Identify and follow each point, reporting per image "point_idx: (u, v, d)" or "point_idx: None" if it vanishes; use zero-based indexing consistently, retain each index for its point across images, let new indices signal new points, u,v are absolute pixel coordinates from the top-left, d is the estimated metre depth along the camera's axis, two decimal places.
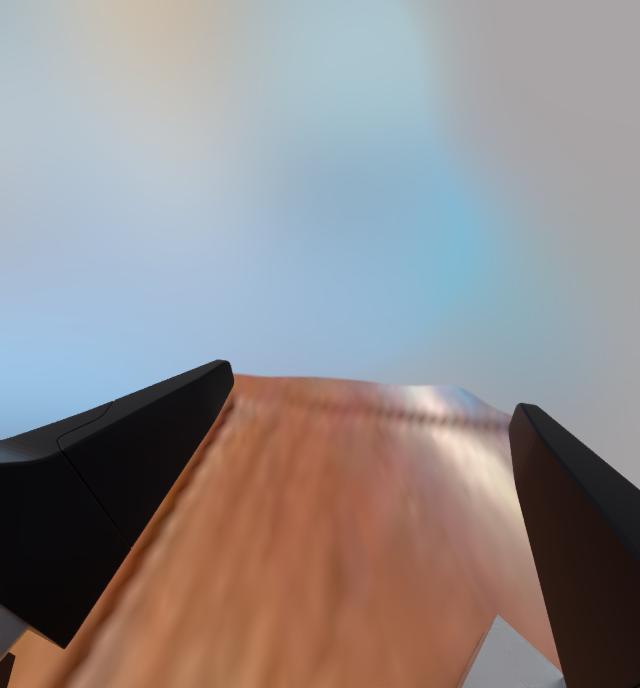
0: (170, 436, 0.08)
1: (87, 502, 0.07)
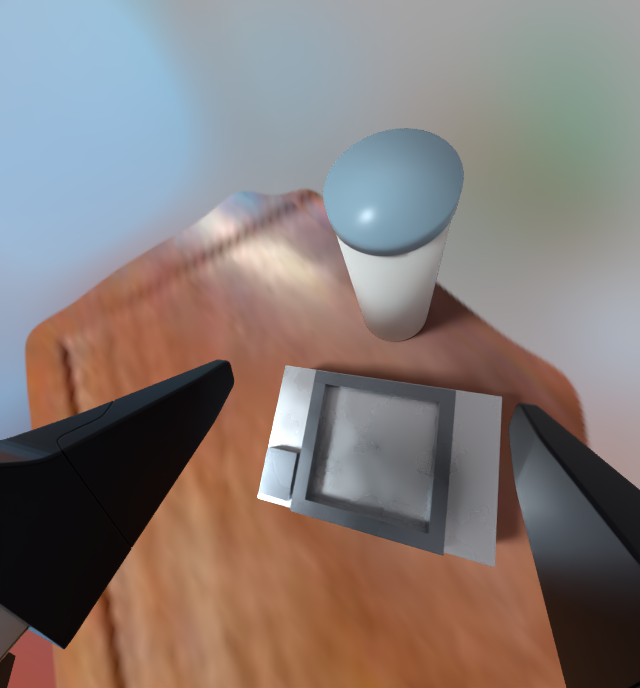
0: (170, 436, 0.08)
1: (87, 502, 0.07)
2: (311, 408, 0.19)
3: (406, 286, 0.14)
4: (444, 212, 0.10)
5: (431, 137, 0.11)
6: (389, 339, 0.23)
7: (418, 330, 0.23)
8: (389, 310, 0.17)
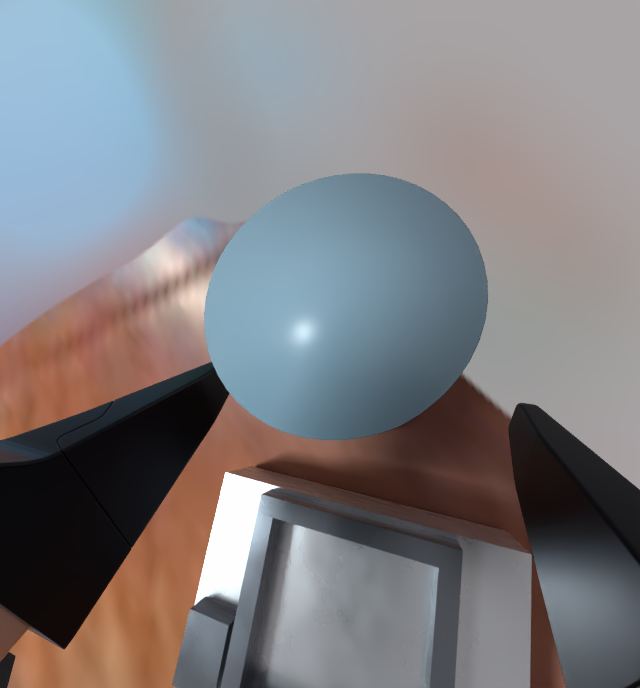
0: (170, 436, 0.08)
1: (87, 502, 0.07)
2: (251, 555, 0.13)
3: None
4: (445, 379, 0.05)
5: (417, 196, 0.06)
6: None
7: None
8: None
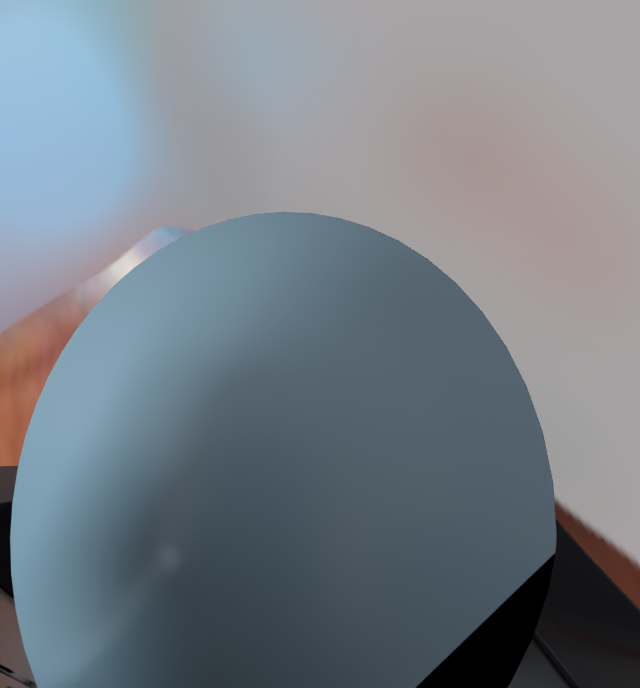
0: None
1: None
2: None
3: None
4: None
5: (399, 262, 0.03)
6: None
7: None
8: None
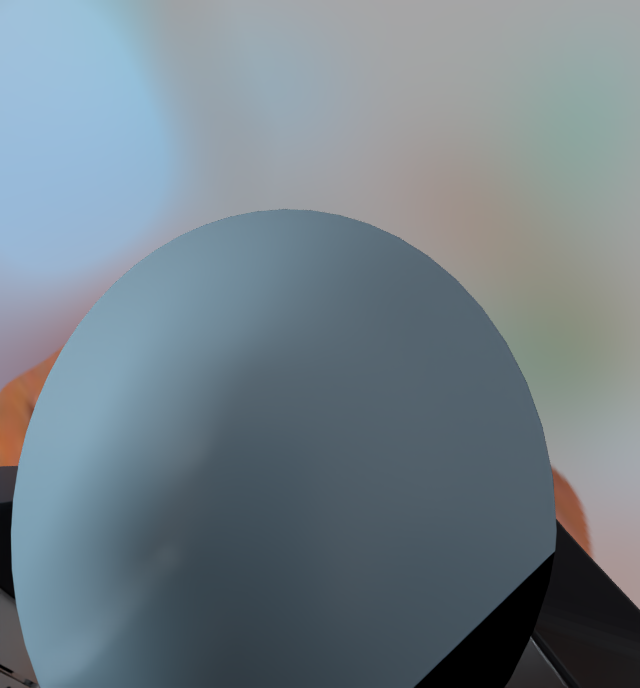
0: None
1: None
2: None
3: None
4: None
5: (398, 259, 0.03)
6: None
7: None
8: None
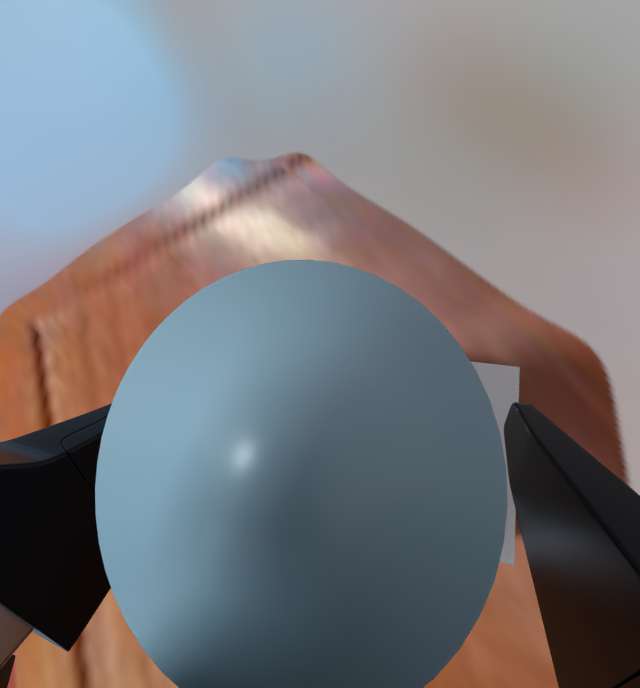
0: None
1: (91, 504, 0.07)
2: None
3: None
4: (438, 647, 0.03)
5: (398, 305, 0.04)
6: None
7: None
8: None
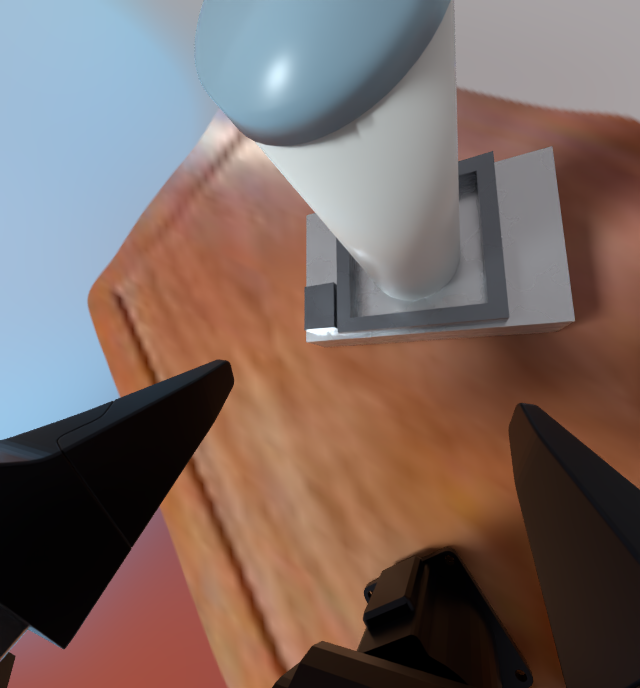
0: (170, 436, 0.08)
1: (87, 502, 0.07)
2: None
3: (401, 201, 0.08)
4: None
5: None
6: (412, 298, 0.17)
7: (450, 275, 0.16)
8: (391, 254, 0.11)
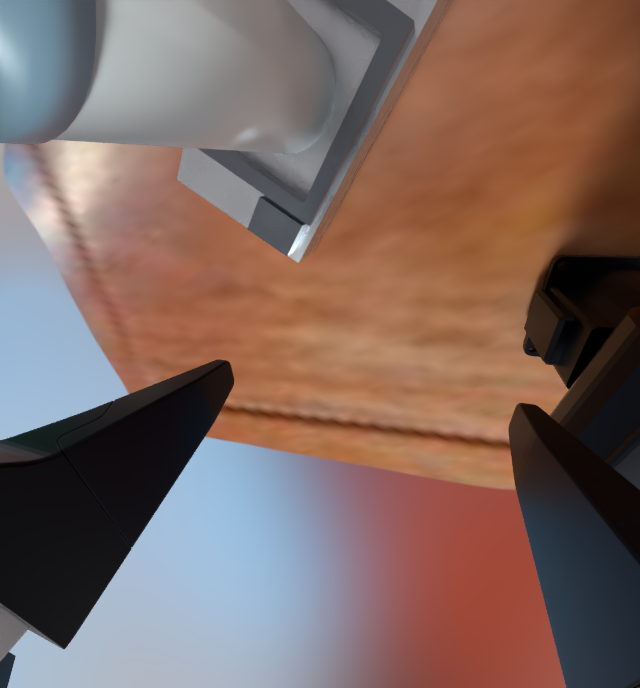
0: (170, 436, 0.08)
1: (87, 503, 0.07)
2: (215, 156, 0.16)
3: (222, 21, 0.06)
4: None
5: None
6: (324, 123, 0.14)
7: (329, 59, 0.13)
8: (270, 96, 0.09)
